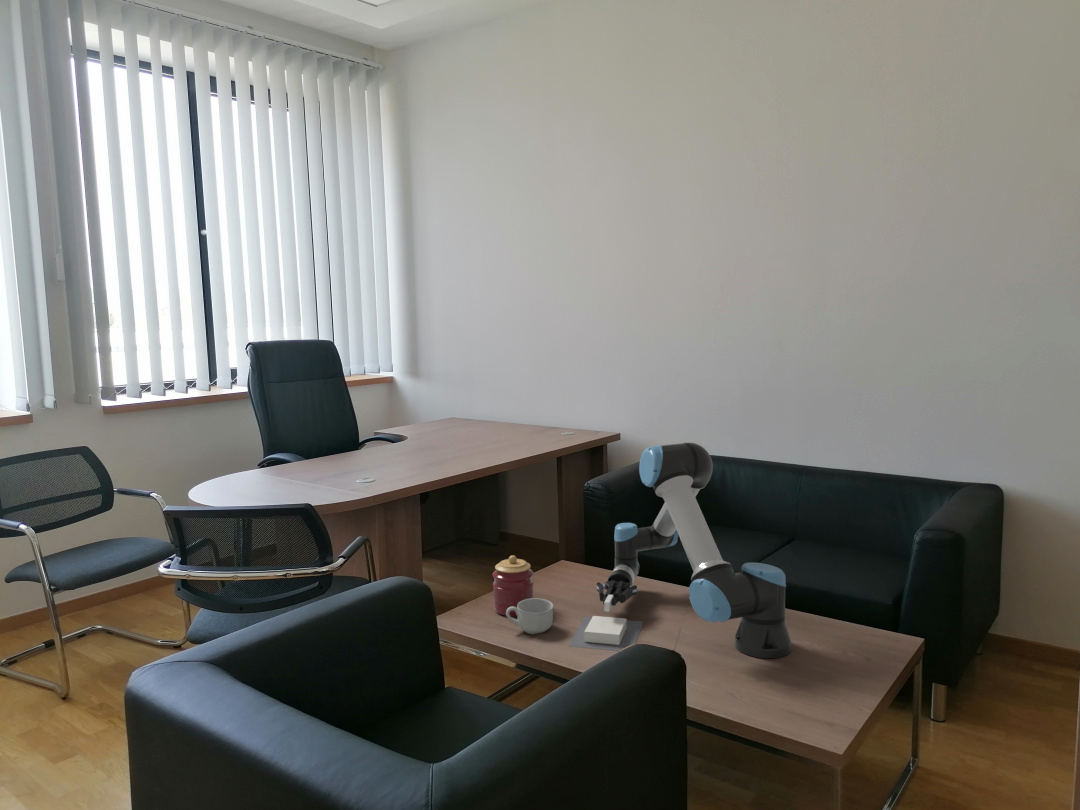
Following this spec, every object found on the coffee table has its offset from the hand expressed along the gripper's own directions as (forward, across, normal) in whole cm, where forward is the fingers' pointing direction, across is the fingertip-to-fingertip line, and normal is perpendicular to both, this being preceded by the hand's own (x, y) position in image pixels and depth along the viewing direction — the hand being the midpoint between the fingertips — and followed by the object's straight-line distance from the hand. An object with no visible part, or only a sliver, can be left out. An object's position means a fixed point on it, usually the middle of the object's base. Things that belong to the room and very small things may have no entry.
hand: (606, 606), depth 231 cm
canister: (-12, +32, -8) cm, 35 cm away
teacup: (+3, +22, -8) cm, 24 cm away
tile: (-3, 0, -6) cm, 6 cm away
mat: (+2, 0, -8) cm, 8 cm away
